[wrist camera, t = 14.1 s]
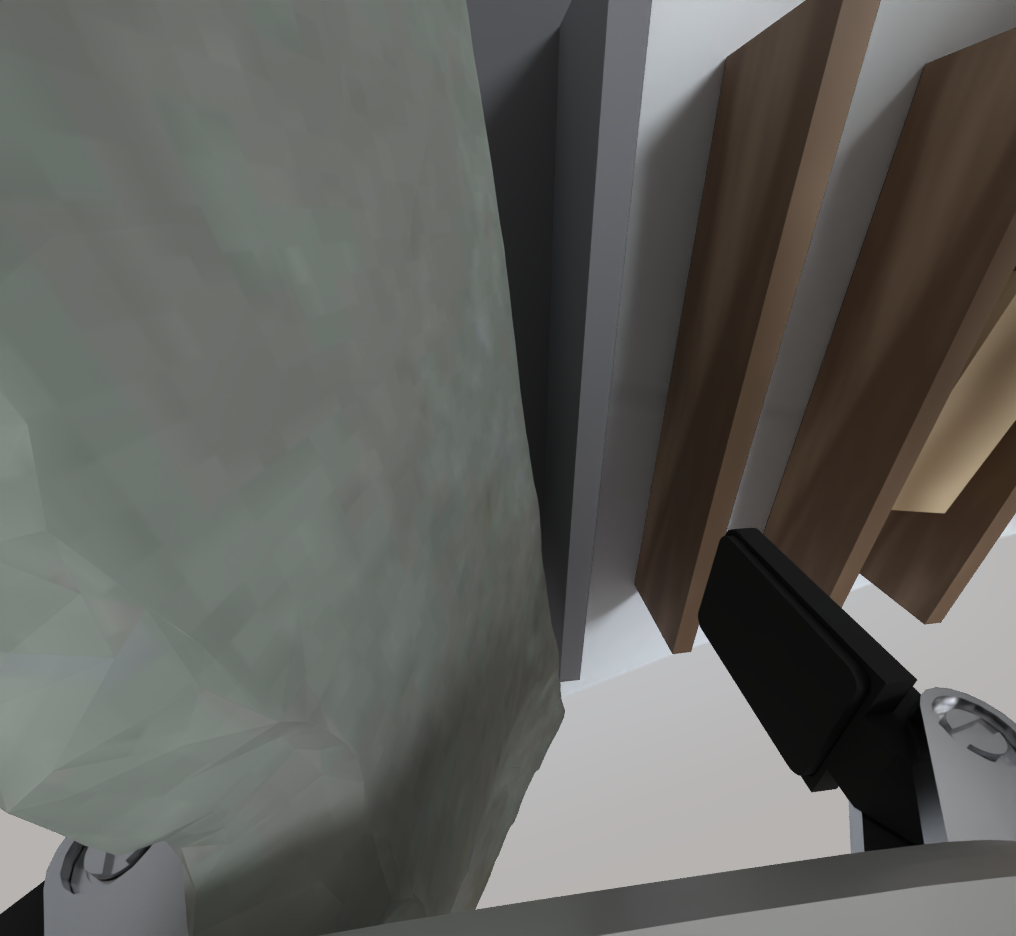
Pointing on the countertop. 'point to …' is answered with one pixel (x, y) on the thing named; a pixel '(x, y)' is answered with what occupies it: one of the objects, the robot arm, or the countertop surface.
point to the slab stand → (563, 247)
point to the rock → (264, 457)
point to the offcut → (969, 416)
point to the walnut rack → (838, 322)
